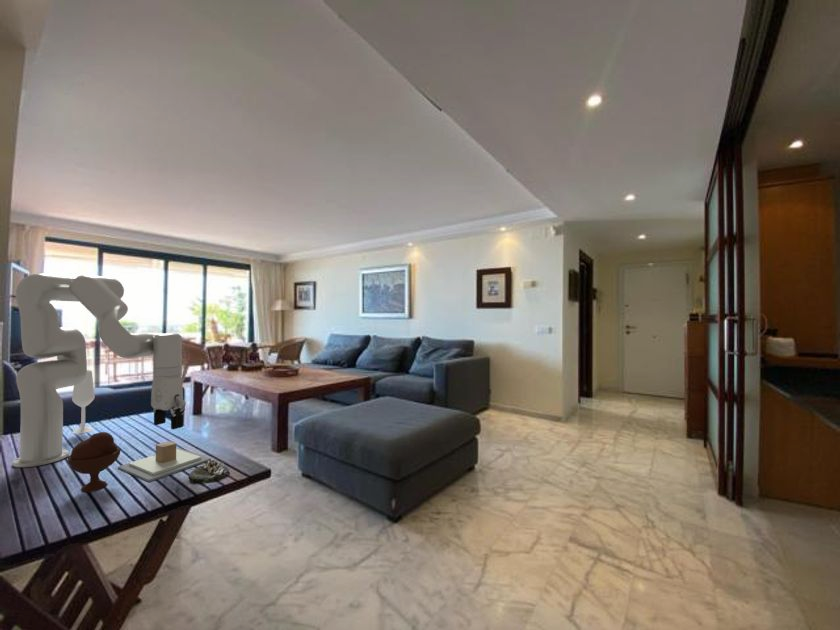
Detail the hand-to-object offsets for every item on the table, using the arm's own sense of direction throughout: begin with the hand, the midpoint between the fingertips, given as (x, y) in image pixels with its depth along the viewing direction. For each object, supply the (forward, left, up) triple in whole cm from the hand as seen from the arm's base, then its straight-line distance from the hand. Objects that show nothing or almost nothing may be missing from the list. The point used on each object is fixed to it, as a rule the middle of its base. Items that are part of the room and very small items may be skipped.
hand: (168, 426), depth 116 cm
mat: (-1, 0, -12) cm, 12 cm away
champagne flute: (-63, +1, -12) cm, 64 cm away
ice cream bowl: (-1, -18, -12) cm, 22 cm away
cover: (-1, 0, -12) cm, 12 cm away
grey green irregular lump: (+18, +2, -13) cm, 23 cm away
